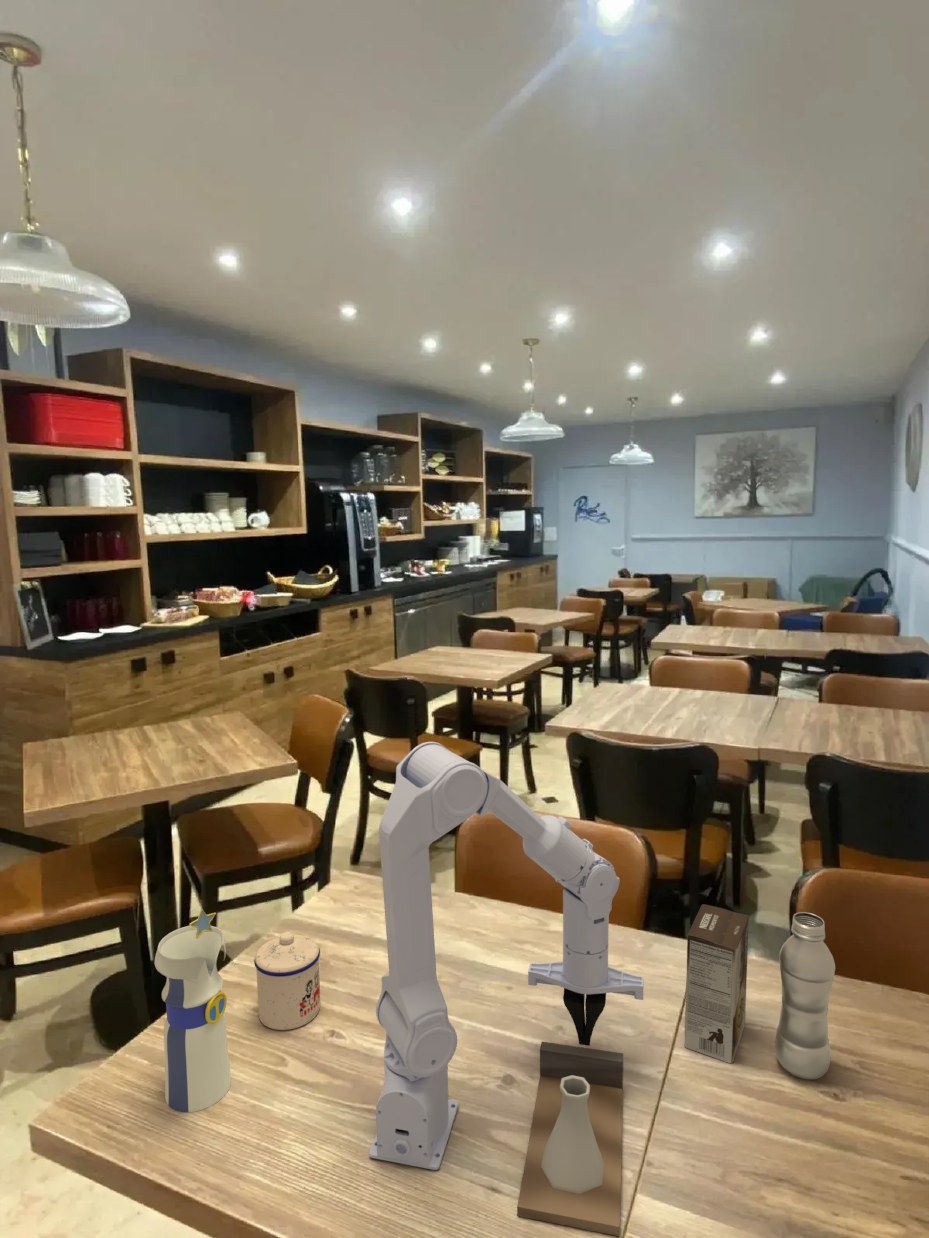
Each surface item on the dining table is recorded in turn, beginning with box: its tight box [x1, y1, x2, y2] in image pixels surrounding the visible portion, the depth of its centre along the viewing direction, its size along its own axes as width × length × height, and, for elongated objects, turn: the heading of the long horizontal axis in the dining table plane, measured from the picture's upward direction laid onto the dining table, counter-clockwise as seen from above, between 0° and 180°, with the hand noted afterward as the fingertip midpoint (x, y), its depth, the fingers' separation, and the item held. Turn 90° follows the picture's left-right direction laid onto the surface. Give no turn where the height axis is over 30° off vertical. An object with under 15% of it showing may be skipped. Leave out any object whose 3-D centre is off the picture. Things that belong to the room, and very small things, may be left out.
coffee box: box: [684, 903, 749, 1064], centre depth 98 cm, size 9×6×16 cm
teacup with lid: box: [253, 931, 321, 1031], centre depth 105 cm, size 12×9×12 cm
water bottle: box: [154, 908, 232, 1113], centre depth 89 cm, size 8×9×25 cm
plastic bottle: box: [774, 911, 836, 1081], centre depth 91 cm, size 6×7×20 cm
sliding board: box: [516, 1041, 624, 1237], centre depth 81 cm, size 20×10×4 cm, turn 167°
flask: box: [541, 1075, 604, 1194], centre depth 77 cm, size 7×7×10 cm
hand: (584, 1039), depth 95 cm, fingers closed
